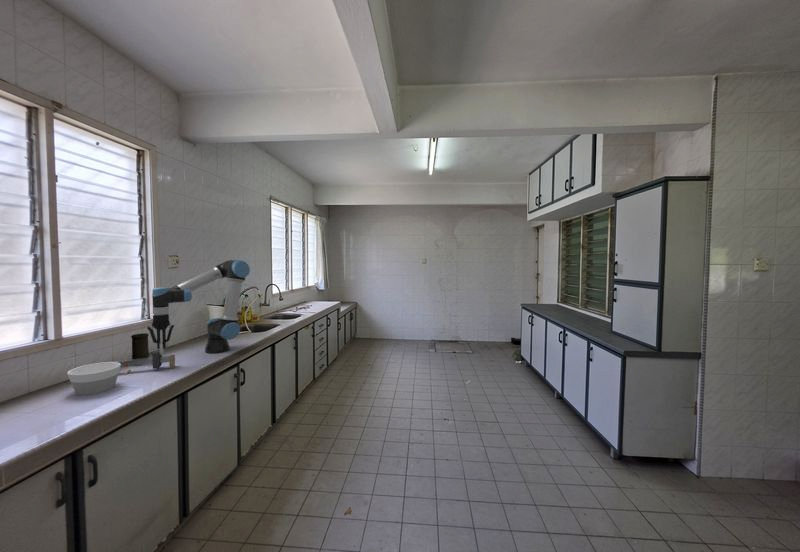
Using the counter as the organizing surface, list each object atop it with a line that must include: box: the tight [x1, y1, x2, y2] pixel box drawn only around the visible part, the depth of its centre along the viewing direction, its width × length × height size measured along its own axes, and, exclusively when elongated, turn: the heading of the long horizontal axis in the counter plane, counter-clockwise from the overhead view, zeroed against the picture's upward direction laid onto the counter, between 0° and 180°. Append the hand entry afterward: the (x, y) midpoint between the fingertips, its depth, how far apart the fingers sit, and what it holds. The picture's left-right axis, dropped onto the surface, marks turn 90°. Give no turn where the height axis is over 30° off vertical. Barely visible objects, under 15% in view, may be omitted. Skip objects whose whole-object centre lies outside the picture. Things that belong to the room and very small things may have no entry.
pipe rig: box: [109, 354, 176, 376], centre depth 185 cm, size 30×9×7 cm, turn 117°
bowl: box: [67, 361, 121, 396], centre depth 159 cm, size 19×19×11 cm
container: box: [130, 333, 150, 367], centre depth 198 cm, size 9×9×18 cm
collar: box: [151, 349, 163, 370], centre depth 188 cm, size 3×8×9 cm, turn 27°
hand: (161, 353), depth 189 cm, fingers closed
